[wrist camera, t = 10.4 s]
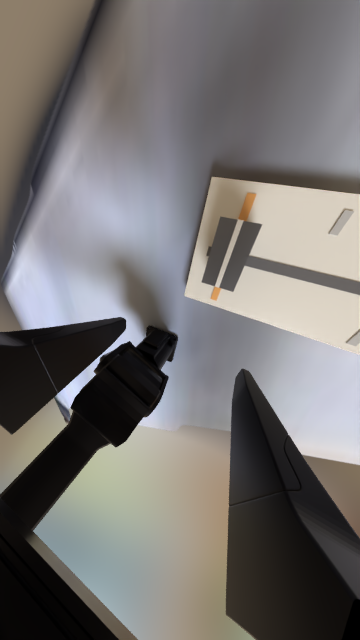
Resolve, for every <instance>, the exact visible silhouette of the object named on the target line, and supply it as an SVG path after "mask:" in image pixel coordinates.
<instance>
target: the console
mask: <svg viewBox="0 0 360 640" xmlns="http://www.w3.org/2000/svg"><path fill="white" fill-rule="evenodd" d="M220 216H221V217H226V218H231V219H237V220H238V219H239V220H244V221H248V222H253V223H259V224H262V226H261V229H260V231H259V233H258V236H257V238H256V240H255V243H254V245H253V247H252V250H251V252H250V254H249V257H248V259H247V261H246V264H245V266H244V268H243V271H242V273H241V275H240V277H239V280H238V282H237V284H236V287H235V289H234V291H233V292H232V291H228V290H225V289H222V288H218V287H215V286H212V285H209V284H205V283H202V278H203V275H204V272H205V268H206V265H207V261H208V258H209V254H210V251H211V247H212V244H213V240H214V237H215V233H216V230H217V227H218V223H219V220H220ZM184 296H186V297H189V298H192V299H195V300H198V301H201V302H204V303H207V304H210V305H213V306H216V307H219V308H222V309H225V310H228V311H231V312H234V313H237V314H240V315H243V316H246V317H249V318H252V319H255V320H258V321H261V322H264V323H267V324H270V325H272V326H275V327H278V328H281V329H284V330H287V331H290V332H293V333H296V334H299V335H302V336H305V337H308V338H311V339H314V340H317V341H320V342H323V343H326V344H329V345H332V346H335V347H338V348H341V349H344V350H347V351H350V352H353V353H356V354H359V355H360V194H352V193H344V192H335V191H327V190H319V189H310V188H302V187H294V186H285V185H277V184H269V183H260V182H252V181H244V180H235V179H227V178H219V177H212V179H211V183H210V187H209V192H208V196H207V200H206V205H205V209H204V213H203V217H202V222H201V226H200V230H199V235H198V239H197V243H196V247H195V252H194V256H193V260H192V265H191V269H190V273H189V277H188V282H187V286H186V290H185V294H184Z"/></svg>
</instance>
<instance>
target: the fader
mask: <svg viewBox="0 0 360 640" xmlns="http://www.w3.org/2000/svg"><path fill="white" fill-rule="evenodd" d="M261 226H262V224H259V223H253V222H248V221H244V220H239V219H238V220H237V219H231V218H226V217H221V216H220V220H219V223H218V227H217V230H216V233H215V237H214V240H213V244H212V247H211V251H210V254H209V258H208V261H207V265H206V268H205V272H204V275H203V278H202V283H205V284H209V285H212V286H215V287H218V288H222V289H225V290H228V291H232V292H233V291H234V289H235V287H236V284H237V282H238V280H239V277H240V275H241V273H242V271H243V268H244V266H245V264H246V261H247V259H248V257H249V254H250V252H251V250H252V247H253V245H254V243H255V240H256V238H257V236H258V233H259V231H260V229H261Z"/></svg>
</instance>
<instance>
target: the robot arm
mask: <svg viewBox="0 0 360 640" xmlns="http://www.w3.org/2000/svg"><path fill="white" fill-rule="evenodd" d="M149 328H150V329H149ZM125 329H126V319H124V318H122V317H118V318H111V319H104V320H98V321H91V322H84V323H77V324H70V325H63V326H56V327H49V328H40V329H31V330H21V331H12V332H0V425H1V426H2V427H3V428H4V429H6V430H7V431H8V432H9V433H10V434H13V433H15V432H16V431H17V430H18V429H19V428H20V427H22V426H23V424H25V423H26V422H27V421H28V420H29V419H30V418H31V417H33V416H34V415H35V414H36V413H37V412H38V411H39V410H40V409H41V408H43V407H44V406H45V405H46V404H47V403H48V402H49V401H50V400H51V399H53V398H54V397H55V396H56V395H57V394H58V393H59V392H60V391H61V390H62V389H63V388H65V387H66V386H67V385H68V384H69V383H70V382H71V381H72V380H73V379H74V378H76V377H77V376H78V375H79V374H80V373H81V372H82V371H83V370H84V369H86V368H87V367H88V366H89V365H90V364H91V363H92V362H93V361H94V360H95V359H97V358H98V357H99V356H100V355H101V354H102V353H103V352H104V351H105V350H106V349H108V348H109V347H110V346H111V345H112V344H113V343H114V342H115V341H116V340H117V339H118V337H119V336H120V335H121V334H122V333H123V332H124V331H125ZM175 339H176V340H175ZM177 341H178V338H177V337H176V336H174V335H171V334H169V333H166V332H164V331H161V330H159V329H157V328H154V327H152V326H148V327H147V332H146V338H145V339H143V341H142V342H141V343H140V344H139V345H138V346H136V347H135V346H134V345H132V343H131V342H130V341H129V342H127V343H124V344H121V345H120V346H119V347H118V348H116V349H115V350H113V351H111V352H109V353H107V354H105V355H103V356H102V357H101V358H100V363H99V364H98V366H97V367H96V369H95V370H94V373H96V375H95V376H94V377H93V378H92V379H91V380H90V381H89V382H88V383H87V384H86V385H85V386H84V387H83V388H82V389H81V391H80V393H79V394H78V395H77V396H76V397H75V399H74V401H73V403H72V405H71V409H72V410H73V413H72V415H71V418H70V421H69V424H68V425H67V426H66V427H65V428H64V429H63V430H62V431H61V432H60V433H59V434H58V435H57V436H56V437H55V438H54V439H53V441H52V442H51V443H50V444H49V445H48V446H47V447H46V448H45V449H44V450H43V451H42V452H41V453H40V454H39V455H38V456H37V457H36V458H35V459H34V460H33V461H32V462H31V463H30V464H29V465H28V466H27V467H26V469H24V471H23V472H22V473H21V474H20V475H19V476H18V477H17V478H16V479H15V480H14V481H13V482H12V483H11V484H10V485H9V486H8V487H7V488H6V489H5V490H4V491H3V492H2V493H1V494H0V640H138V639H137V638H136V637H135V636H134V635H133V634H132V633H131V632H130V631H129V630H128V629H127V628H126V627H125V626H124V625H123V624H122V623H121V622H120V621H119V620H118V619H117V618H116V617H115V616H114V615H113V614H112V612H111V611H109V609H108V608H107V607H106V606H105V605H104V604H103V603H102V602H101V601H100V600H99V599H98V598H97V597H96V596H95V595H94V594H93V593H92V592H91V591H90V590H89V589H88V588H87V587H86V586H85V585H84V584H83V583H82V582H81V581H80V579H79V578H78V577H76V576H75V574H73V572H72V571H71V570H70V569H69V568H68V567H67V566H66V565H65V564H64V563H63V562H62V561H61V560H60V559H59V558H58V557H57V556H56V555H55V554H54V553H53V552H52V551H51V550H50V549H49V548H48V547H47V545H46V544H44V543H43V541H42V540H41V539H40V538H39V537H38V536H37V535H36V534H35V533H34V532H33V530H34V529H35V528H36V526H37V525H38V524H39V522H40V521H41V520H42V519H43V517H44V516H45V515H46V514H47V513H48V511H49V510H50V509H51V508H52V506H53V505H54V504H55V503H56V501H57V500H58V499H59V498H60V496H61V495H62V494H63V492H64V491H65V490H66V489H67V488H68V486H69V485H70V484H71V483H72V481H73V480H74V479H75V478H76V476H77V475H78V474H79V473H80V471H81V470H82V469H83V468H84V466H85V465H86V464H87V463H88V461H89V460H90V459H91V458H92V456H93V455H94V454H95V453H96V451H97V450H99V449H100V448H103V447H105V446H107V445H109V444H112V445H113V446H115V447H118V446H119V445H121V444H122V443H124V442H125V441H126V440H127V439H128V437H129V436H130V435H131V433H132V431H133V430H134V429H135V428H136V426H137V425H138V423H139V422H140V421H141V420H142V418H143V417H147V416H149V415H150V414H151V413H152V412H153V410H154V409H155V408H156V406H157V405H158V403H159V402H160V400H161V398H162V395H163V392H164V389H165V387H166V384H167V381H168V378H169V377H168V376H167V375H165V374H164V373H163V372H162V371H161V368H162V367H163V365H164V364H165V362H166V361H169V362H172V360H173V357H174V353H175V349H176V345H177ZM229 486H230V487H229V506H230V507H229V515H228V550H227V582H226V615H227V616H228V617H229V618H231V619H232V620H233V621H234V622H235V623H237V624H238V625H239V626H240V627H241V628H243V629H244V630H245V631H246V632H247V633H248V634H250V635H251V636H252V637H253V638H254V639H256V640H360V538H359V537H358V535H357V534H356V533H355V531H354V530H353V528H352V527H351V526H350V524H349V523H348V521H347V520H346V519H345V517H344V516H343V514H342V513H341V512H340V510H339V509H338V507H337V506H336V504H335V503H334V501H333V500H332V498H331V497H330V496H329V494H328V493H327V491H326V490H325V488H324V487H323V486H322V484H321V483H320V481H319V480H318V478H317V477H316V475H315V474H314V473H313V471H312V470H311V468H310V467H309V465H308V464H307V462H306V461H305V459H304V458H303V456H302V455H301V453H300V452H299V450H298V448H297V447H296V445H295V444H294V442H293V441H292V439H291V437H290V436H289V435H288V433H287V431H286V429H285V428H284V426H283V425H282V423H281V421H280V420H279V418H278V417H277V415H276V413H275V412H274V410H273V409H272V407H271V405H270V404H269V402H268V401H267V399H266V397H265V396H264V394H263V393H262V391H261V389H260V388H259V386H258V385H257V383H256V381H255V380H254V378H253V377H252V375H251V374H250V372H249V371H247V370H245V369H241V370H240V372H239V373H238V375H237V376H236V379H235V385H234V392H233V399H232V417H231V451H230V485H229Z"/></svg>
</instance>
